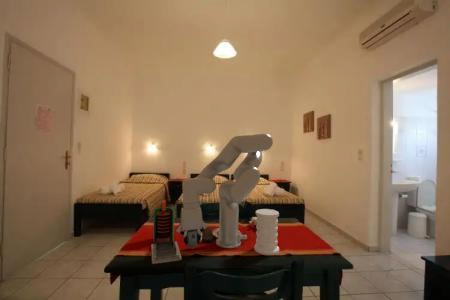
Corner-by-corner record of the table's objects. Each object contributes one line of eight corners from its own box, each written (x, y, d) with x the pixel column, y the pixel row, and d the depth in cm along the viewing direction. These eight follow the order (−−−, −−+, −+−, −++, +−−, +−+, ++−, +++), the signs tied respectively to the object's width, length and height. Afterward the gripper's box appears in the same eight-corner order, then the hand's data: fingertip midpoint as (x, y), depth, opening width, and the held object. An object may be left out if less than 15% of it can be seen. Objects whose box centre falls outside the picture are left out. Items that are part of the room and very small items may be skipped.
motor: (154, 244, 115) (155, 204, 115) (151, 238, 123) (152, 200, 123) (175, 241, 120) (175, 202, 120) (170, 235, 128) (171, 198, 127)
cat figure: (275, 239, 127) (261, 221, 152) (276, 224, 127) (262, 208, 151) (257, 240, 126) (246, 222, 151) (258, 224, 125) (247, 209, 150)
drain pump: (196, 242, 113) (196, 226, 113) (199, 247, 107) (198, 230, 107) (186, 244, 112) (185, 227, 111) (188, 249, 106) (187, 232, 105)
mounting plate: (176, 243, 117) (176, 236, 117) (181, 260, 99) (181, 251, 99) (151, 246, 113) (151, 239, 113) (152, 264, 96) (152, 255, 96)
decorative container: (279, 256, 104) (280, 216, 104) (253, 253, 107) (254, 214, 106) (278, 245, 116) (279, 209, 116) (255, 243, 118) (255, 208, 118)
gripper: (206, 201, 116) (207, 237, 116) (171, 205, 111) (172, 243, 111) (210, 205, 109) (211, 243, 109) (173, 209, 103) (174, 249, 104)
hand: (192, 243), depth 110 cm, fingers closed on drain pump, 5 cm apart
